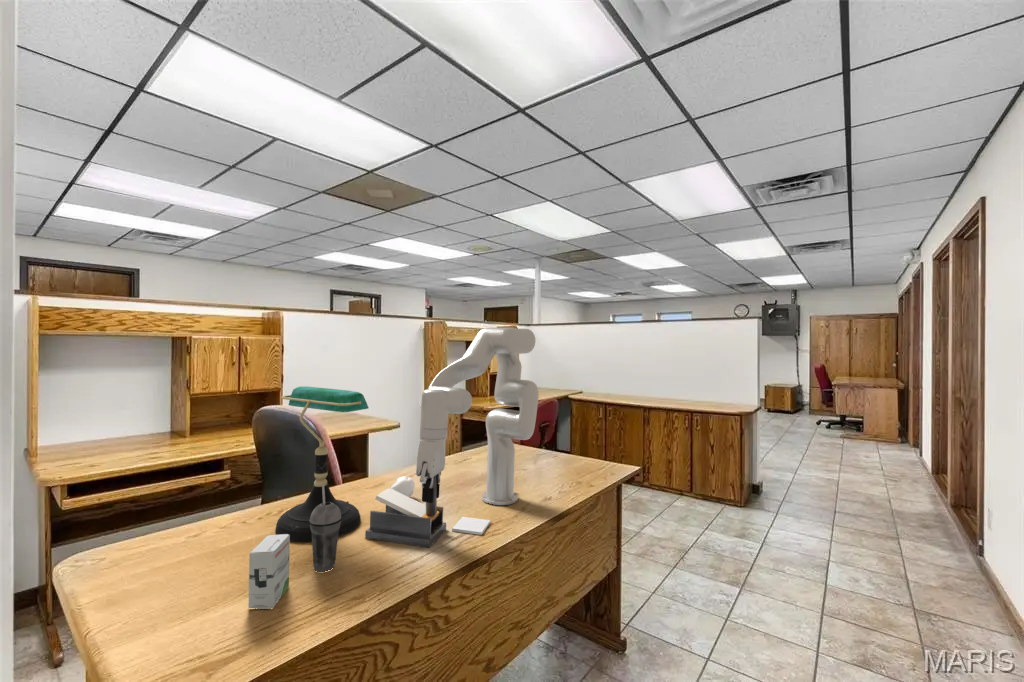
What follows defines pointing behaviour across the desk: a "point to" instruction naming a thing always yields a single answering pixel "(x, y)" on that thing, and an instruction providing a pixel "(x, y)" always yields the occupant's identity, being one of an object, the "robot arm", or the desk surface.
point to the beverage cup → (325, 534)
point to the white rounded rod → (432, 507)
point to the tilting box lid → (403, 503)
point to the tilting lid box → (405, 527)
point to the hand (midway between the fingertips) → (430, 499)
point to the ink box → (269, 571)
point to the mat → (471, 525)
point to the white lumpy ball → (404, 486)
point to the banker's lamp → (320, 463)
